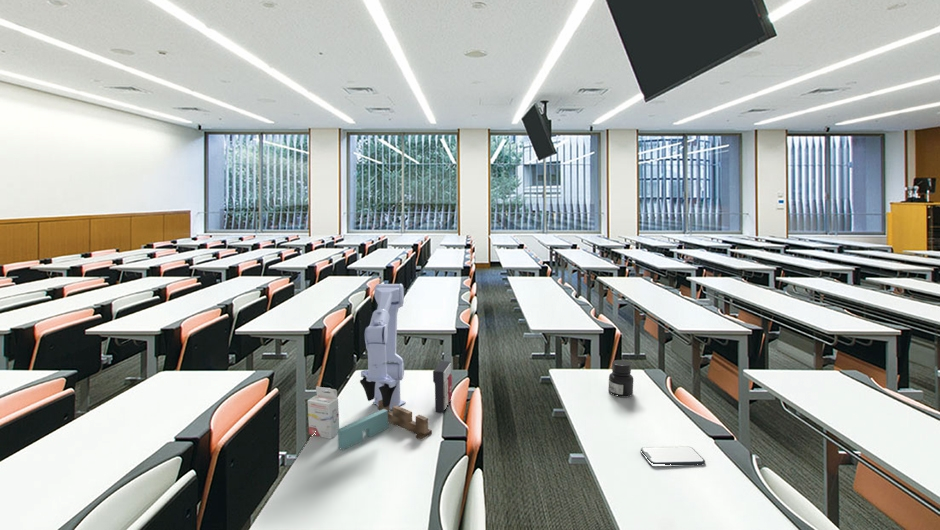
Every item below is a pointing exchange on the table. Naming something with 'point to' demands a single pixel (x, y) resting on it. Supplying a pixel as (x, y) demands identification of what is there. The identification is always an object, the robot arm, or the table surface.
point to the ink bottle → (621, 378)
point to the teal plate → (362, 428)
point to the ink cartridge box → (323, 413)
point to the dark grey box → (442, 385)
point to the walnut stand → (407, 420)
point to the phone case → (673, 455)
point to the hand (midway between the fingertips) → (378, 402)
